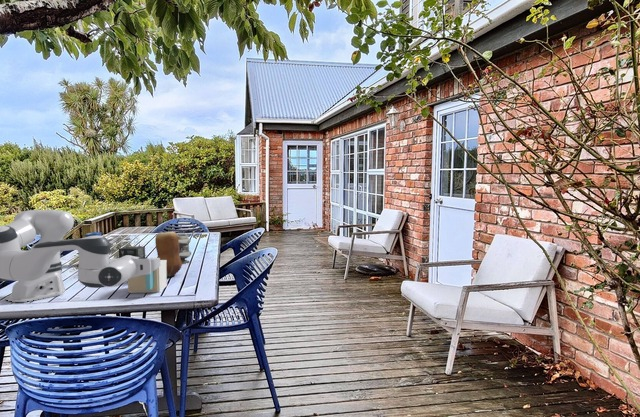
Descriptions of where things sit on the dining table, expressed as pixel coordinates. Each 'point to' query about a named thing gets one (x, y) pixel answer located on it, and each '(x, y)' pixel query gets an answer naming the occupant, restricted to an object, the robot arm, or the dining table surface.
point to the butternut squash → (169, 251)
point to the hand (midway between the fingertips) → (140, 259)
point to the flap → (144, 282)
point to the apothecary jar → (184, 248)
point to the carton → (159, 278)
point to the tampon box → (132, 251)
